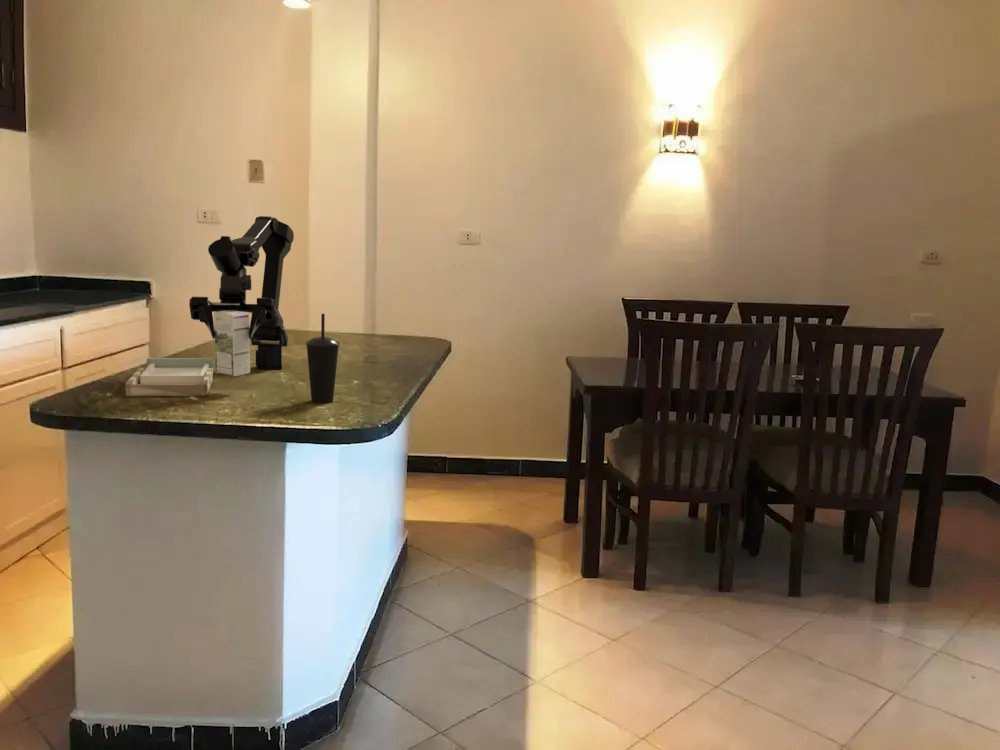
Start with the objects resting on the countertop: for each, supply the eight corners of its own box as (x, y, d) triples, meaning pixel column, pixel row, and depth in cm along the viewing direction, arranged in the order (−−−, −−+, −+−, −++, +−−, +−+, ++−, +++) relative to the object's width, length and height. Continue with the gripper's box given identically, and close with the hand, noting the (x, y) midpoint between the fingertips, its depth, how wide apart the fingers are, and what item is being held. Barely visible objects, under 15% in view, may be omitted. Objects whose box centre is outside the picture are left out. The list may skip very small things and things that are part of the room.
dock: (139, 380, 201) (139, 368, 200) (213, 380, 205) (212, 368, 205) (126, 396, 183) (125, 383, 183) (206, 395, 188) (206, 382, 187)
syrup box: (251, 373, 193) (250, 311, 190) (233, 376, 187) (232, 313, 185) (232, 370, 195) (231, 309, 192) (214, 373, 190) (213, 311, 187)
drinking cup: (310, 405, 182) (310, 315, 179) (301, 398, 189) (301, 312, 185) (343, 403, 186) (344, 315, 182) (333, 396, 193) (334, 311, 189)
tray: (147, 370, 210) (147, 358, 209) (213, 370, 214) (213, 358, 213) (135, 384, 193) (135, 370, 192) (207, 383, 197) (207, 370, 196)
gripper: (189, 261, 188) (185, 315, 179) (273, 263, 193) (273, 316, 184) (193, 292, 197) (189, 345, 188) (274, 294, 202) (274, 345, 193)
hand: (231, 337), depth 188 cm, fingers closed on syrup box, 8 cm apart
